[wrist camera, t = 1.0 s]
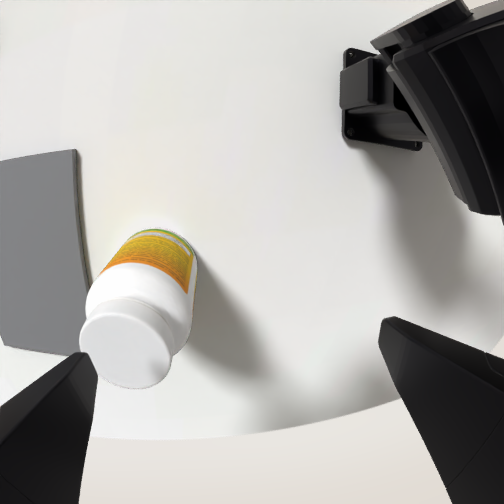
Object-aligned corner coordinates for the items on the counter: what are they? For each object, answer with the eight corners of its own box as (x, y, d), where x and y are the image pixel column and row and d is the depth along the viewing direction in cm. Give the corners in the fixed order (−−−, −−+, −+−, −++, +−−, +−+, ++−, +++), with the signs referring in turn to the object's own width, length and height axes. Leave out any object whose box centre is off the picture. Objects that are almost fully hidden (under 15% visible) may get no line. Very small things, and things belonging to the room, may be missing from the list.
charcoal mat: (76, 149, 17) (72, 149, 16) (104, 354, 22) (102, 359, 21) (-30, 168, 15) (-35, 169, 15) (7, 341, 20) (4, 345, 20)
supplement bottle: (111, 234, 19) (43, 306, 10) (188, 218, 19) (166, 284, 10) (133, 305, 21) (95, 403, 12) (205, 293, 21) (203, 395, 12)
